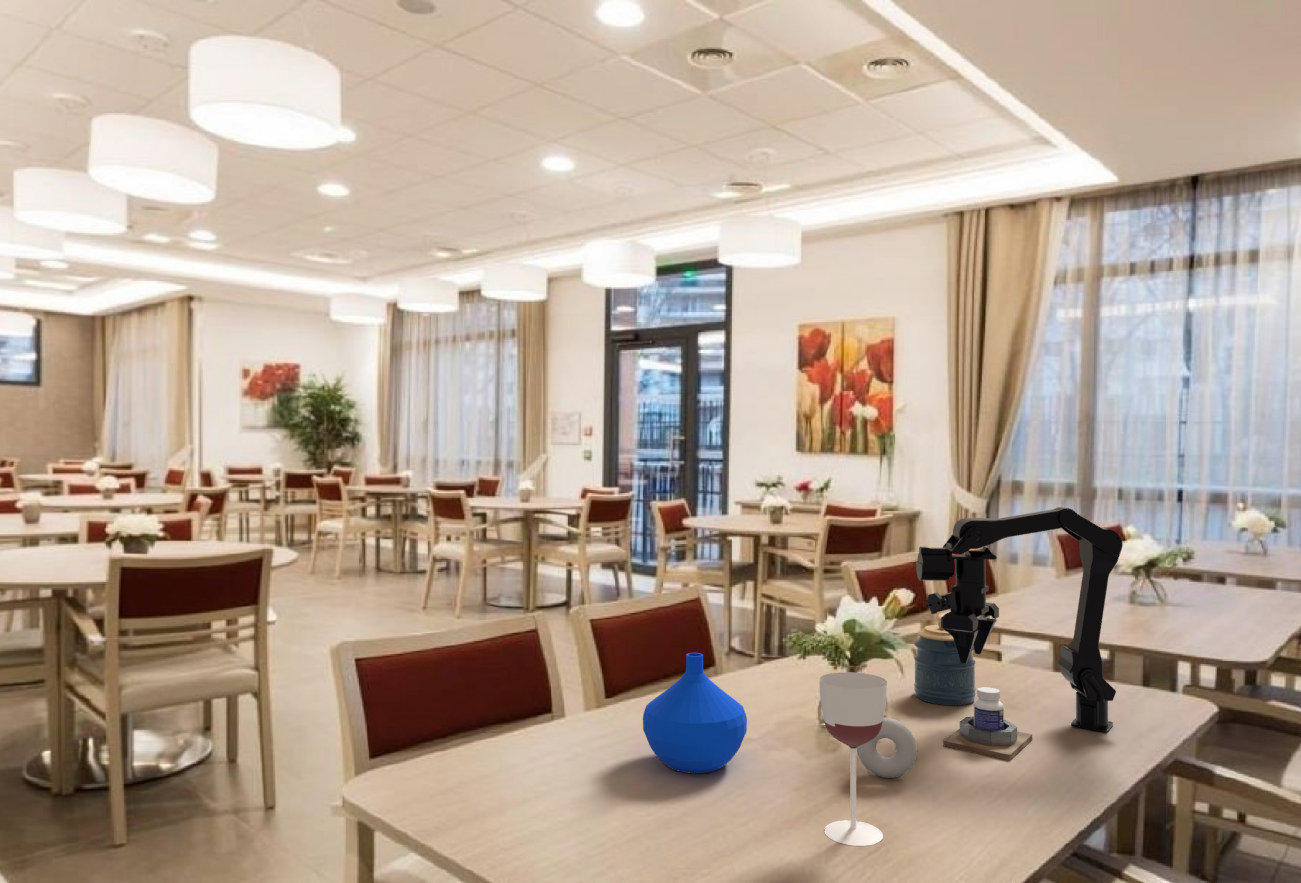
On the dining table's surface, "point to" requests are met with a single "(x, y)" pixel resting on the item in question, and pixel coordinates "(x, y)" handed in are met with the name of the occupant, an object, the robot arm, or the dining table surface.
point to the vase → (694, 722)
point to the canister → (942, 669)
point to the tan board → (994, 751)
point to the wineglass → (853, 737)
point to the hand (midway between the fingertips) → (970, 658)
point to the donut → (902, 756)
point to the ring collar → (988, 733)
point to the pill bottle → (988, 709)
